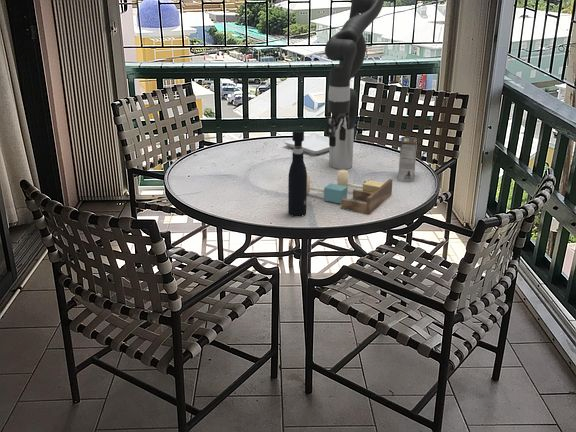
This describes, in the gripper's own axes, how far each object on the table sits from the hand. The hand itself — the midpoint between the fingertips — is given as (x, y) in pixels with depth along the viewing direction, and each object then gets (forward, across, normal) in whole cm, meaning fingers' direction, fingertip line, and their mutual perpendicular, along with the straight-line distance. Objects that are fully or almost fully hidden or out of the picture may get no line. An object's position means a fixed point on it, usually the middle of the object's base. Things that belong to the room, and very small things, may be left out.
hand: (337, 143), depth 223 cm
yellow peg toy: (+22, -10, +5) cm, 25 cm away
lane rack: (+22, -5, +10) cm, 25 cm away
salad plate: (+23, -55, -36) cm, 70 cm away
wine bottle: (+22, +18, -6) cm, 29 cm away
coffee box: (+22, -37, +14) cm, 46 cm away
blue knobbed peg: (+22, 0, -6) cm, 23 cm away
